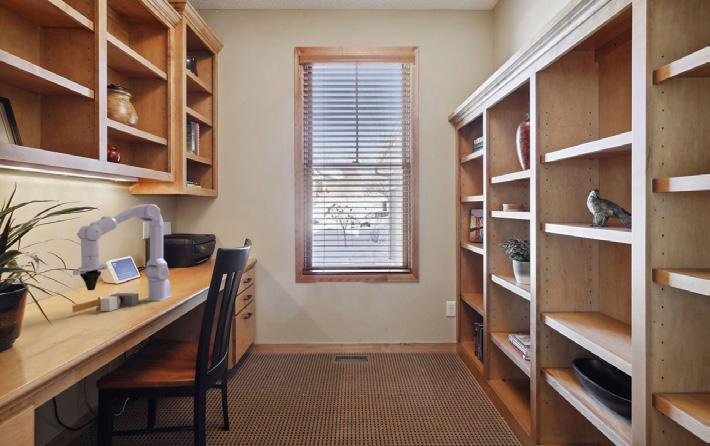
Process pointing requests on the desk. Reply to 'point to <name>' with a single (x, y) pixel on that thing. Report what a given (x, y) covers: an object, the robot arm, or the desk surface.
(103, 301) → the plug
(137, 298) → the socket block
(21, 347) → the desk surface
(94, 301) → the orange long bar
